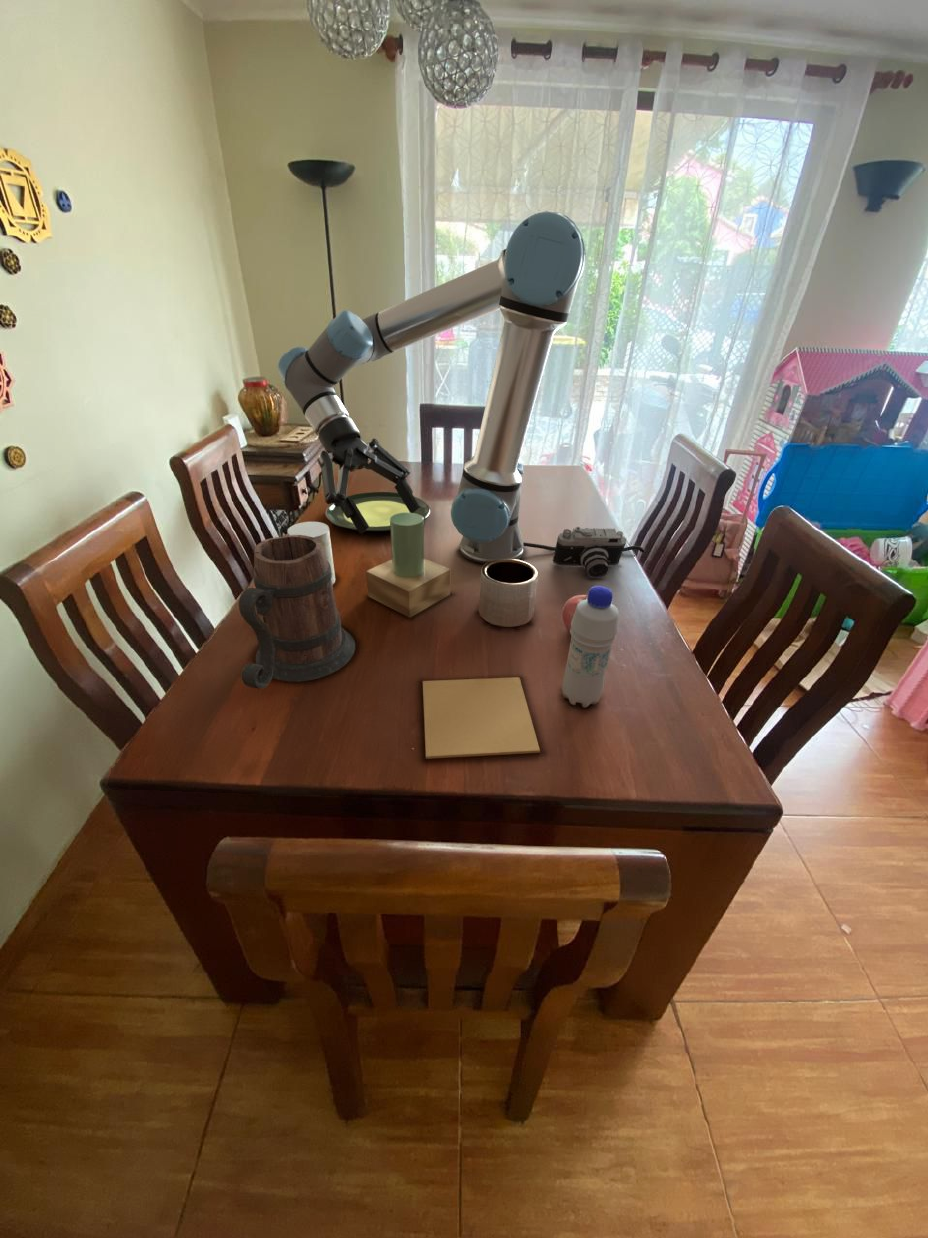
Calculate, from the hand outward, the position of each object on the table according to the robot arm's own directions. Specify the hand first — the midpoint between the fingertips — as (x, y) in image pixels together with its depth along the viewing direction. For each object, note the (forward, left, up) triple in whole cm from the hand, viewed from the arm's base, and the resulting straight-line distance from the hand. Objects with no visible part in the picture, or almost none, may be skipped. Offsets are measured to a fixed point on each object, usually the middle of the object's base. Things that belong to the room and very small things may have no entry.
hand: (391, 520), depth 102 cm
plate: (+5, -39, -16) cm, 42 cm away
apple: (-35, +18, -16) cm, 42 cm away
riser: (-3, +3, -16) cm, 16 cm away
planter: (-22, +11, -16) cm, 29 cm away
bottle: (-30, +36, -16) cm, 49 cm away
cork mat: (-13, +39, -16) cm, 44 cm away
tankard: (+16, +24, -16) cm, 33 cm away
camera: (-44, -6, -16) cm, 47 cm away
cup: (+17, -4, -16) cm, 23 cm away
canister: (-3, +3, -10) cm, 10 cm away
